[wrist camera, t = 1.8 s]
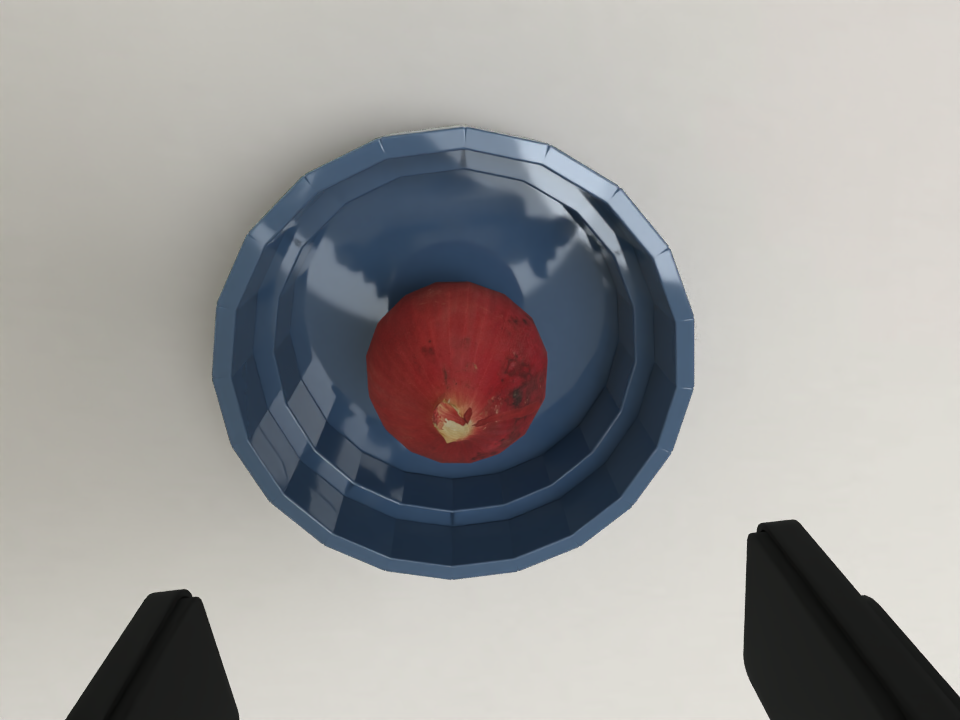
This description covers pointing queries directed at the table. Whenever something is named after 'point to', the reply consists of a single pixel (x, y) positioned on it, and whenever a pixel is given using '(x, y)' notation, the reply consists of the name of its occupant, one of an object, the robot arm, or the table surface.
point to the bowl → (453, 258)
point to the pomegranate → (456, 372)
